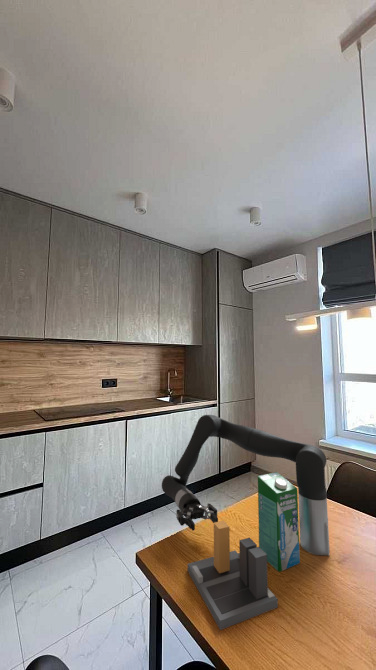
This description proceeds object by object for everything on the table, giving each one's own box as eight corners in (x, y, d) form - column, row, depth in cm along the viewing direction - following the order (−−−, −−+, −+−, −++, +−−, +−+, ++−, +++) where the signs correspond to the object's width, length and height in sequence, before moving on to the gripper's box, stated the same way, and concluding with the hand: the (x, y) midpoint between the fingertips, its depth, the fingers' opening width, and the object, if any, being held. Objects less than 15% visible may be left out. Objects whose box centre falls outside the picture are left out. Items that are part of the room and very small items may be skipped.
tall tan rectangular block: (223, 562, 84) (223, 520, 86) (229, 570, 81) (229, 526, 82) (213, 565, 83) (213, 522, 84) (219, 573, 80) (219, 529, 81)
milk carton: (279, 572, 84) (276, 485, 87) (258, 554, 92) (257, 475, 95) (300, 563, 88) (297, 480, 91) (279, 546, 96) (277, 471, 99)
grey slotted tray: (235, 556, 90) (235, 517, 92) (277, 607, 72) (276, 557, 73) (187, 570, 84) (187, 528, 85) (220, 630, 65) (220, 574, 67)
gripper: (170, 495, 106) (186, 517, 91) (203, 489, 111) (224, 509, 96) (169, 516, 105) (185, 541, 90) (203, 509, 110) (224, 532, 95)
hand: (205, 524), depth 93 cm, fingers open, 8 cm apart
